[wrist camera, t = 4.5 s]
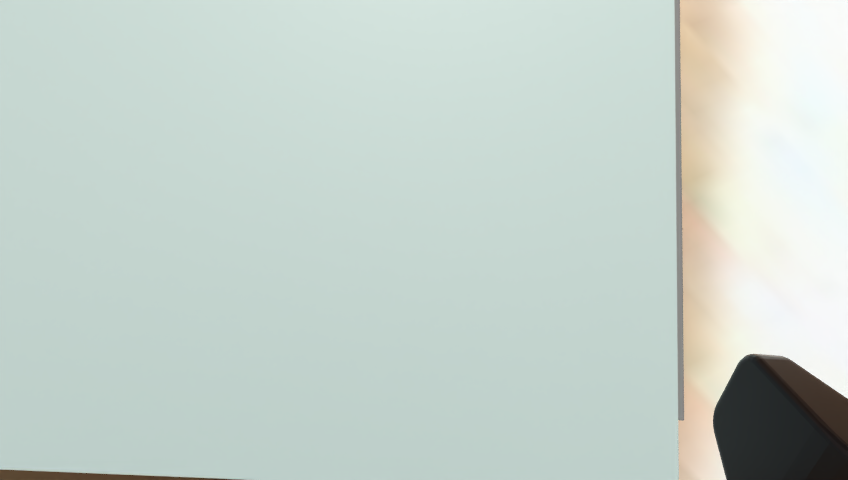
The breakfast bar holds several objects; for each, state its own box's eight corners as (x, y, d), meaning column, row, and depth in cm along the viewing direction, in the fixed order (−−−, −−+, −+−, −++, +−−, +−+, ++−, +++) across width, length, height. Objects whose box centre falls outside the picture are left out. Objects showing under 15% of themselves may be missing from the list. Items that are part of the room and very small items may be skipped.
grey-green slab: (678, 497, 12) (673, -72, 14) (-168, 461, 10) (-30, -192, 12) (591, 473, 15) (597, 18, 17) (-54, 444, 13) (38, -65, 15)
